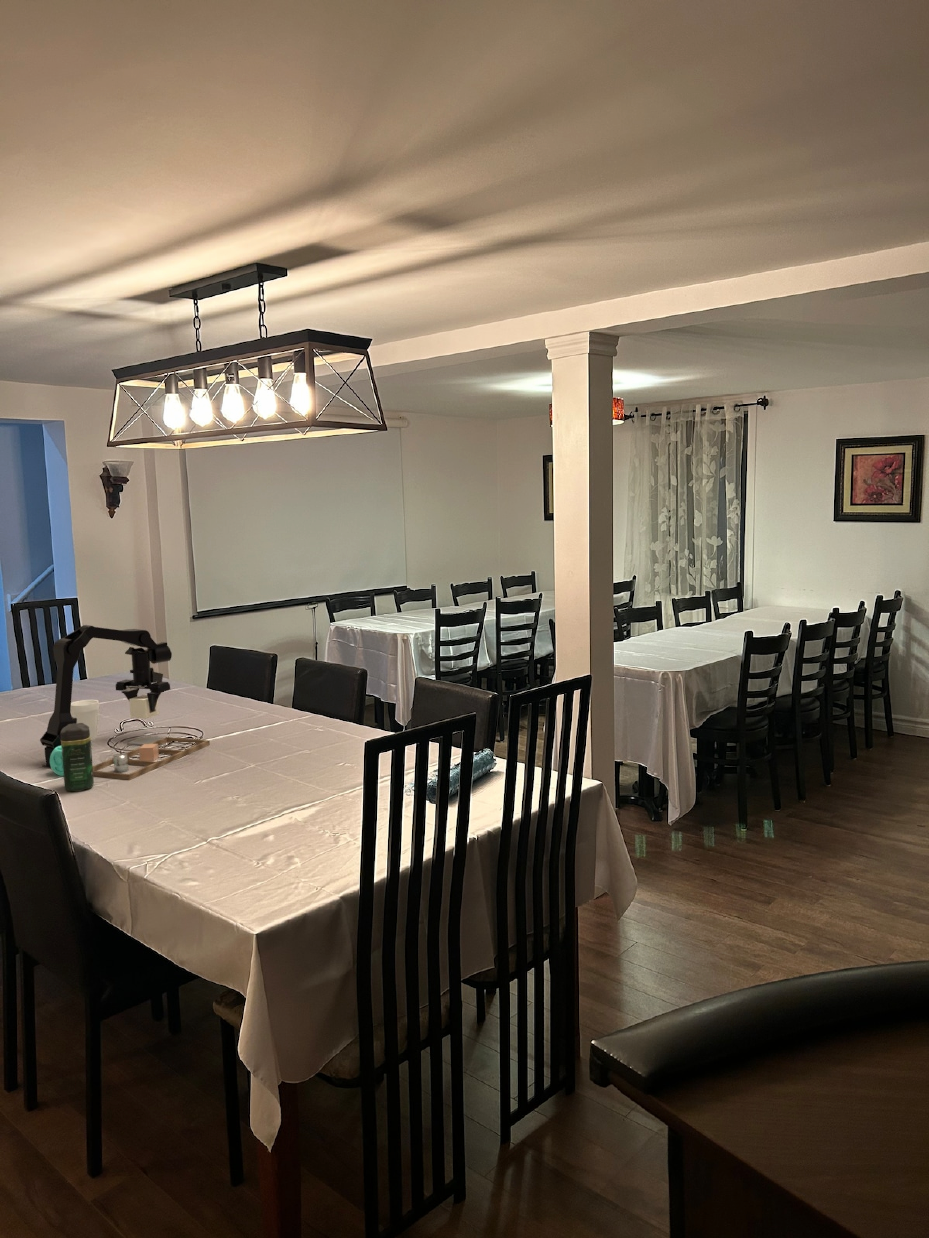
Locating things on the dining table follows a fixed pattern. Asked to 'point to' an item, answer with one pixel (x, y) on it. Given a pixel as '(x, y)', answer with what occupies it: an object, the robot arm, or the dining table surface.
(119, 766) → the grey metal canister
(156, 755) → the terracotta block
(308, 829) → the dining table surface
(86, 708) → the foam cup
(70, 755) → the coffee jar
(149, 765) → the walnut rack
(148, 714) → the letter cube
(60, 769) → the teal round container
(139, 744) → the slate pad
